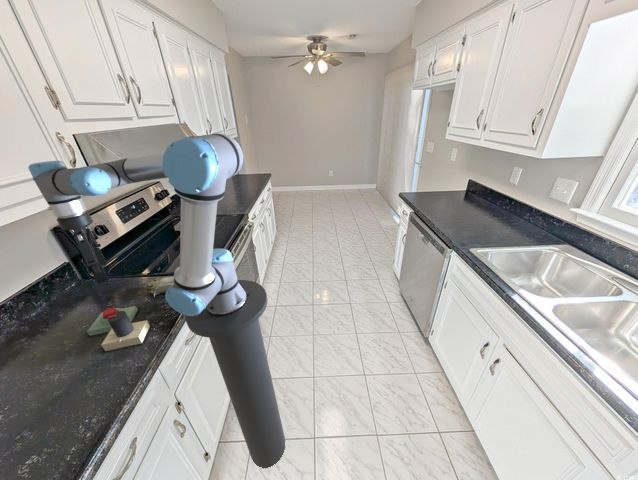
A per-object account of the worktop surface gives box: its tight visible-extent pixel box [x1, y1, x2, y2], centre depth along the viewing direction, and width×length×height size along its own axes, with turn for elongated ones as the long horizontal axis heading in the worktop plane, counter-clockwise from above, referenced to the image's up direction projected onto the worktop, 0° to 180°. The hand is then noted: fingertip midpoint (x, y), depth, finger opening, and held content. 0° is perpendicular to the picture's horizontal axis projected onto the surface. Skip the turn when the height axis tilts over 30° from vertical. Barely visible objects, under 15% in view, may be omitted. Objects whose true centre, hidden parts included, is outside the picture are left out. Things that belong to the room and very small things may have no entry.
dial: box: [108, 311, 134, 337], centre depth 85 cm, size 5×5×7 cm
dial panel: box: [100, 319, 151, 352], centre depth 87 cm, size 11×9×3 cm
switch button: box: [102, 307, 117, 319], centre depth 93 cm, size 4×4×2 cm
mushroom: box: [145, 276, 174, 298], centre depth 111 cm, size 14×10×5 cm, turn 98°
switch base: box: [86, 305, 139, 337], centre depth 94 cm, size 12×10×4 cm
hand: (102, 272), depth 86 cm, fingers open, 13 cm apart
